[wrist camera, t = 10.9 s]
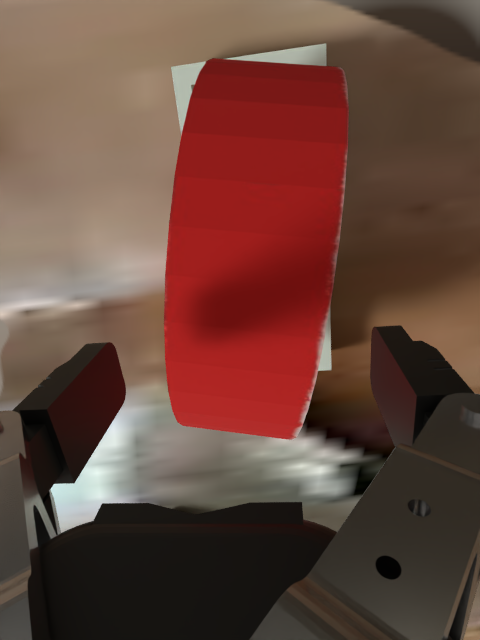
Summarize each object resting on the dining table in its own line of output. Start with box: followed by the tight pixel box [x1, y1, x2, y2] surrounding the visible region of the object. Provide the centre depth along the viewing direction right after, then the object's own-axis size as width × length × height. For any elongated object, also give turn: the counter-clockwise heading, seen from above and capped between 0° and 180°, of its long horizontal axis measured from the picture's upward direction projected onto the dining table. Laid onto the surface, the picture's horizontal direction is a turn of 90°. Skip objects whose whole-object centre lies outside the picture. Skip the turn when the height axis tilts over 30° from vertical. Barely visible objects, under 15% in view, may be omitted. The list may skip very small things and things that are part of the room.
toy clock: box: [164, 58, 349, 440], centre depth 23 cm, size 20×6×20 cm, turn 176°
